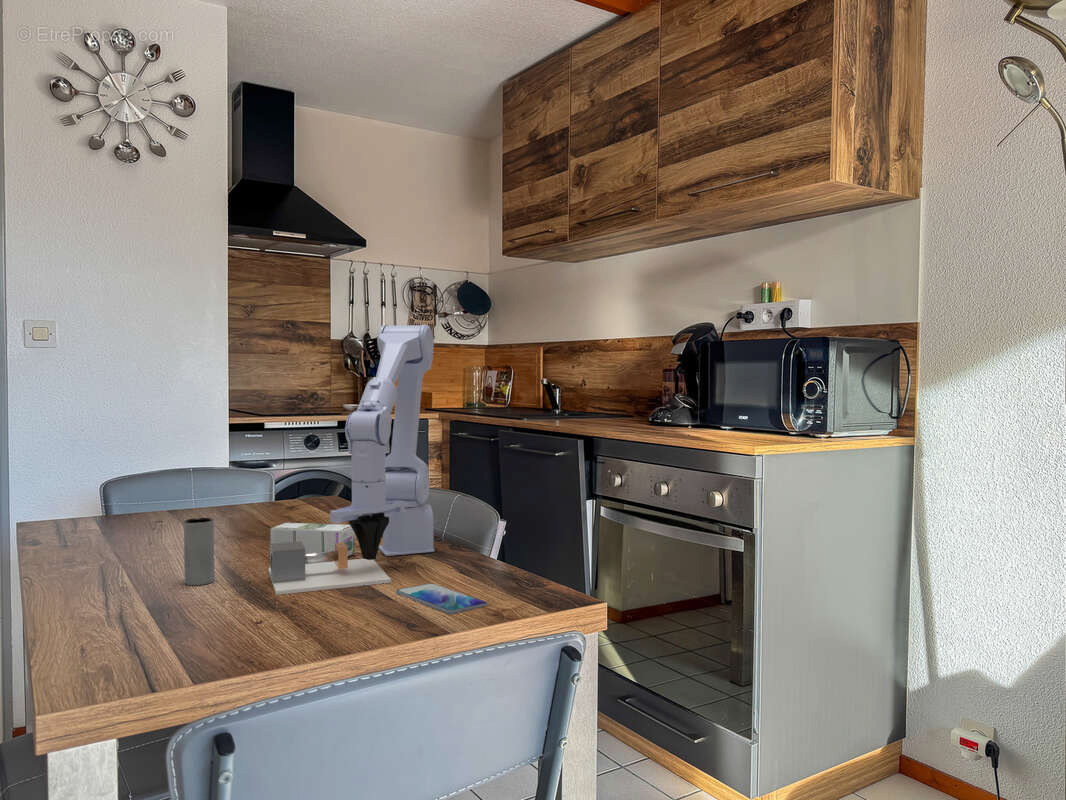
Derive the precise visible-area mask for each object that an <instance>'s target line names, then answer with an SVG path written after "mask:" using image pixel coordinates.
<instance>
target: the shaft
mask: <svg viewBox="0 0 1066 800" xmlns="http://www.w3.org/2000/svg"><path fill="white" fill-rule="evenodd" d="M348 557H349V556H348V547H347V546H346V545H345V543H344V542H342V543H335V551H327V552H315V553H305V564H314V563H325V562H335V565H336V566H337V567H338V569H346V568H348V560H349V559H348Z"/></svg>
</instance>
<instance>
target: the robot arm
mask: <svg viewBox="0 0 1066 800" xmlns="http://www.w3.org/2000/svg"><path fill="white" fill-rule="evenodd" d="M376 342H377V349H378V351H379V355H380V359H379V363H378V367H377V371H376V375H375V378H371V379H370V380H369V381H367V383H366V386H365V388H364V391H363V394H362V396H361V399H360V402H359V404H358V407H357V408H356V410H354V411H353V412H352V413H349V415H348V416H347V418H346V421H345V427H344V432H345V433H344V434H345V439H346V441H347V445H348V449H347V450H348V454H349V455H351V504H350V505H349V506H346V507H342V508H339V509H333V510H330V511H329V512H330V513H329V515H330V516H329V517H330V519H329V520H330V523H332V524H338V525H339V524H342V523H343V522H348V525H350V526H351V527H352V529H353V531H354V533H355V538H356V540H357V541H358V545H359V548H360V552H361V556H362V559H367V560H376V559H377V555H378V551H380V552H381V553H382V554H384V556H386V557H392V556H400V555H401V556H402V555H404V556H405V555H412V554H423V553H426V554H427V553H434V552H435V549H434V514H433V509H432V506H431V505H430V504H429V503H426V501H427V500H428V498H429V494H430V488H431V487H430V486H431V485H430V478H429V477H430V475H429V474H430V470H429V467H428V464H427V463H426V462H425V461H424V460H422V459H421V458H420V457H418V455H417V449H418V448H417V446H418V436H419V435H418V434H419V433H418V432H419V422H420V412H421V411H420V410H421V400H422V389H423V381H424V375H425V373H426V372H428V371H430V370H431V369H432V363H433V358H434V349H435V348H434V344H435V341H434V334H433V331H432V329H431V327H430V326H429V324H422V325H421V324H420V325H419V324H418V325H417V324H416V325H415V324H414V325H407V324H406V325H388V324H383V325H382V326H381V327H380V328H379V330H378V332H377V339H376ZM396 383H397V386H396ZM394 405H395V408H394ZM393 408H394V419H393V417H392V414H391V413H392V411H393ZM392 419H393V421H392ZM392 422H393V428H392ZM391 430H392V431H391ZM391 434H392V436H391ZM390 437H392V439H391V449H390V453H389V454H388V455H387V456H386V444H387V443H388V442H389V440H390ZM381 541H382V544H381ZM380 544H381V545H380Z"/></svg>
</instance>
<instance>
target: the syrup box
mask: <svg viewBox="0 0 1066 800" xmlns="http://www.w3.org/2000/svg"><path fill="white" fill-rule="evenodd" d="M269 535H270V538H269V542H270V544H274V543H286V542H298V541H301V542H302V544H303V546H304V547H305V553H315V552H327V551H335V543H342V542H344V543H345V545H346V546H347V547H348V557H349V556H352V555H353V554H355V548H356V547H355V546H356V543H355V542H356V535H355V533H354V531H353V529H352V527H351V526H350V524H339V523H338V524H337V523H332V524H331V523H309V522H307V523H306V522H305V523H304V522H283V523H281V524H279V525H275V526H273V527H270V534H269ZM270 544H269V545H270Z"/></svg>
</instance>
